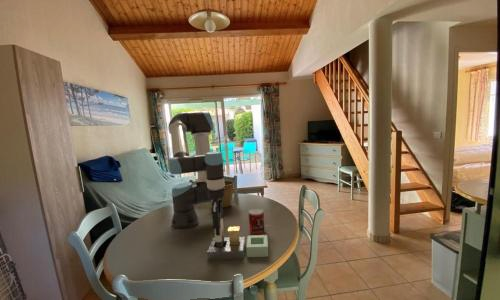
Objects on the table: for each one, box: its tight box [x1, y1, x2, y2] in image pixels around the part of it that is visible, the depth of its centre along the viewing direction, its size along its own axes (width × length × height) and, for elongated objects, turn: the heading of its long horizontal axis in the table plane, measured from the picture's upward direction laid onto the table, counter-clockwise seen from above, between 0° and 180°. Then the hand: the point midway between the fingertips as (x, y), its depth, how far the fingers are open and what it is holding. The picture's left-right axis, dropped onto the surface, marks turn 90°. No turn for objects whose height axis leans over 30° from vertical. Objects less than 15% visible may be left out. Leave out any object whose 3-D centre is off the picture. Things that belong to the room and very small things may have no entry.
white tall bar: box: [215, 213, 225, 247], centre depth 104 cm, size 4×4×17 cm
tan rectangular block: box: [227, 226, 241, 246], centre depth 104 cm, size 4×5×10 cm
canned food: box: [248, 208, 265, 235], centre depth 122 cm, size 8×8×11 cm
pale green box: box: [245, 234, 269, 258], centre depth 104 cm, size 10×9×4 cm
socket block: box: [206, 236, 246, 261], centre depth 105 cm, size 12×15×4 cm
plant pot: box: [222, 180, 235, 208], centre depth 162 cm, size 15×15×16 cm
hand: (219, 238), depth 105 cm, fingers closed on white tall bar, 4 cm apart
